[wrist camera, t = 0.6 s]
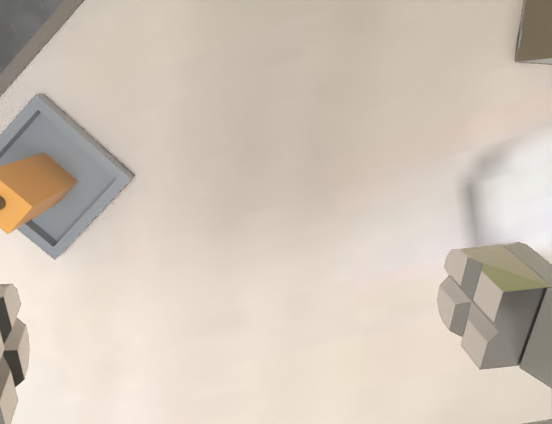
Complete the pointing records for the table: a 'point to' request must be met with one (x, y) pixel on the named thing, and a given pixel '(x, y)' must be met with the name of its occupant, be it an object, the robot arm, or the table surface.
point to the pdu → (28, 32)
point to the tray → (71, 157)
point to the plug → (30, 189)
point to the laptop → (535, 33)
